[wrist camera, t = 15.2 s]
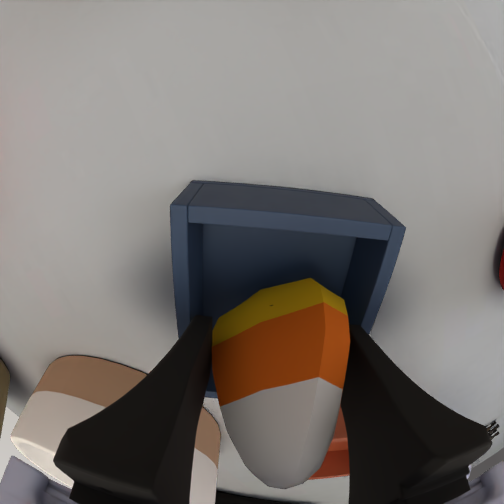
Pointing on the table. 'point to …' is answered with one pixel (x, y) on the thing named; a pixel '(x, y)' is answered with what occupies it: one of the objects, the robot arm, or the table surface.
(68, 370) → the bowl
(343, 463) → the terracotta bin
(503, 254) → the beverage can
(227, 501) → the black hard case
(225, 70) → the table surface
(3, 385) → the plant pot
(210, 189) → the slate bin
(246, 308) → the candy corn
